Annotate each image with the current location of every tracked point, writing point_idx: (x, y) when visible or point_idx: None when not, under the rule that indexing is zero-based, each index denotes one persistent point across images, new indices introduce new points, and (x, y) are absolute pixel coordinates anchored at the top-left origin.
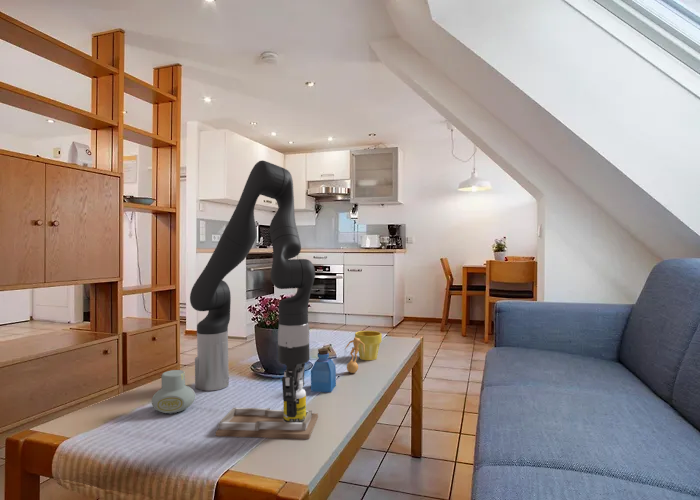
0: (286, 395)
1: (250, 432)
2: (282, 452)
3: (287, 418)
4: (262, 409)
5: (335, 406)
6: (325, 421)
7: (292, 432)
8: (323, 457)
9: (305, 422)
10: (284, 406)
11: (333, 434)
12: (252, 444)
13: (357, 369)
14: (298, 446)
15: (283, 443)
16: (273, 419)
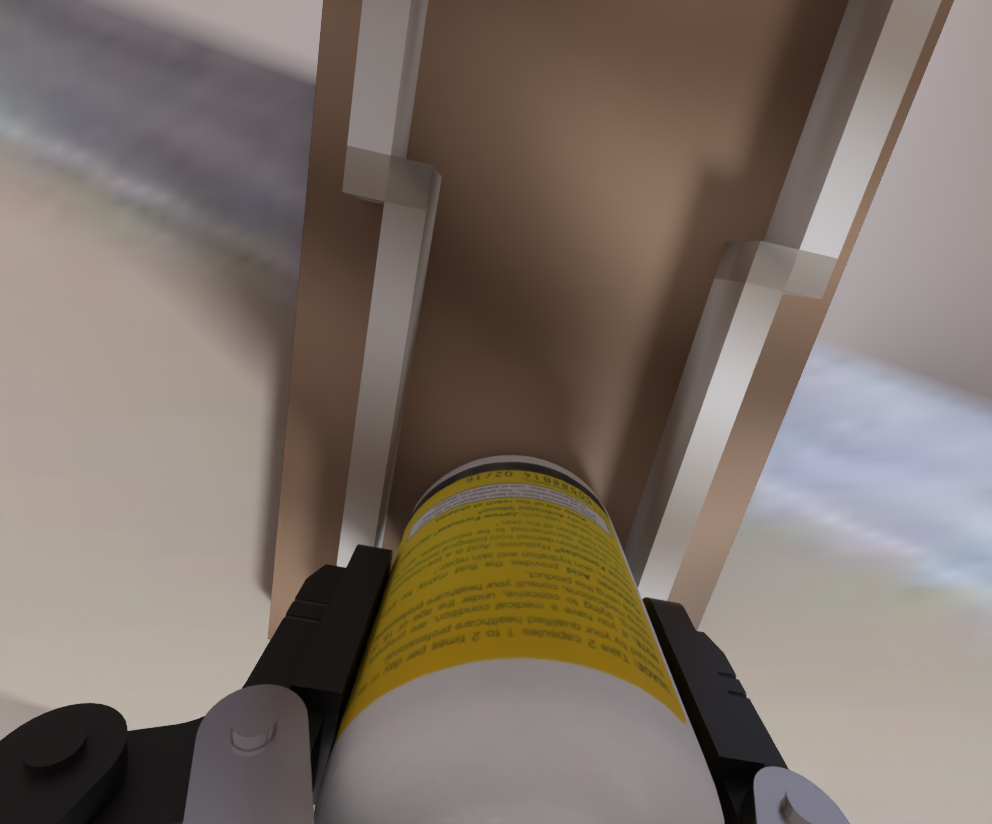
0: (191, 806)
1: (317, 109)
2: (52, 438)
3: (415, 520)
4: (819, 201)
5: (835, 788)
6: None
7: (309, 522)
8: (20, 684)
9: None
10: (444, 562)
11: None
12: (173, 163)
13: None
14: (160, 545)
15: (204, 439)
16: (625, 341)
